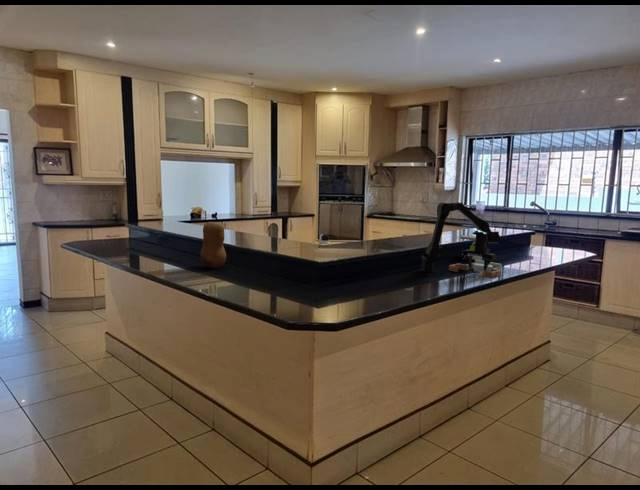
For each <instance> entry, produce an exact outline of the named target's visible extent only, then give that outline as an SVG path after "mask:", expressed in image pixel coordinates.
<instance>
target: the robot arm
mask: <svg viewBox="0 0 640 490" xmlns="http://www.w3.org/2000/svg"><path fill="white" fill-rule="evenodd" d="M436 207H437V208H436V222H435V226H434V229H433V234H432V236H431V241H430V243H429V244H428V246H427V248H426V250H425V252H424V253H423V254H422V255H421V259H422V261H421V268H420V269H419V271H421V272H423V273H435V272H436V270H435V266H436V263H435V262H436V261H437V259H438V258H439V257H440V256H441V252H442V250H443V249H442V247H441V246H440V242H441V238H442V235H443V230H444V225H445V222H446V220H447V218H448V216H450V214H451V212H453V211H454V212H456V211H458V212H459V213H461V214H462V215H463V216H464V217H465V218H466V219H468V220H469V221H470V222H471V224H472V225H473V227H474V228H475V229H476V230H474V231H473V232H472V235H473V236H476V239H475V244H474V246H475V248H474V251H473V250H468V249H467V250H463V251H462V255H464V257H465V258H464V259H465V260H466V262H467V264H468V265H469V268H471V264H472V263H473V262H472V261H473V259H472V257H473V255H475V256H480V257H482V258H485V259H484V260H483V261H484V271H486V269H487V267H488V265H489V263H490V262H492V261H494V260H497V254H496V253H490V251H491V249H490V248H488V247H487V244H499V243H500V242H501V236H500V232H499V231H492V229H491V227H490V223H489V222H487V221H486V220H484V219H482V218H480V217H478V216H477V215H476V214H475V213H473V212H472V211H471V210H470V209H469V208H468V207H466V206H465V205H464V204H463V203H462V202H459V201H457V202H449V203H446V202H439V203H438V204H437V206H436ZM486 243H487V244H486Z"/></svg>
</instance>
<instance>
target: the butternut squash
mask: <svg viewBox="0 0 640 490" xmlns="http://www.w3.org/2000/svg"><path fill="white" fill-rule="evenodd" d="M202 234H203V235H202V236H203V237H202V247H201V250H200V261H201V263H202V264H203V265H204V266H205V267H208V268H210V269H218V268H221V267H222V266H223V265H224V264H225V262H226V260H227V253H226V250H225V247H224V242H225V227H224V225H223V224H222V223H220V222H217V221H208V222H206V223H204V225H203V228H202Z"/></svg>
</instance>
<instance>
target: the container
mask: <svg viewBox="0 0 640 490" xmlns="http://www.w3.org/2000/svg"><path fill="white" fill-rule="evenodd" d="M330 237H331V236H330V235H329V234H326V233H325V234H323V233H322V234H320V235H319V241H318V243H317V245H318V244H330V245H331V242H330Z"/></svg>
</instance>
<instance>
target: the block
mask: <svg viewBox="0 0 640 490" xmlns="http://www.w3.org/2000/svg"><path fill="white" fill-rule="evenodd" d="M474 263H475V262H474ZM492 269H493V265H488V267H487V269H486V271H489V272H491V270H492ZM480 271H484V264H478V263H475V265H474V268H473V272H479V273H480Z"/></svg>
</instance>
